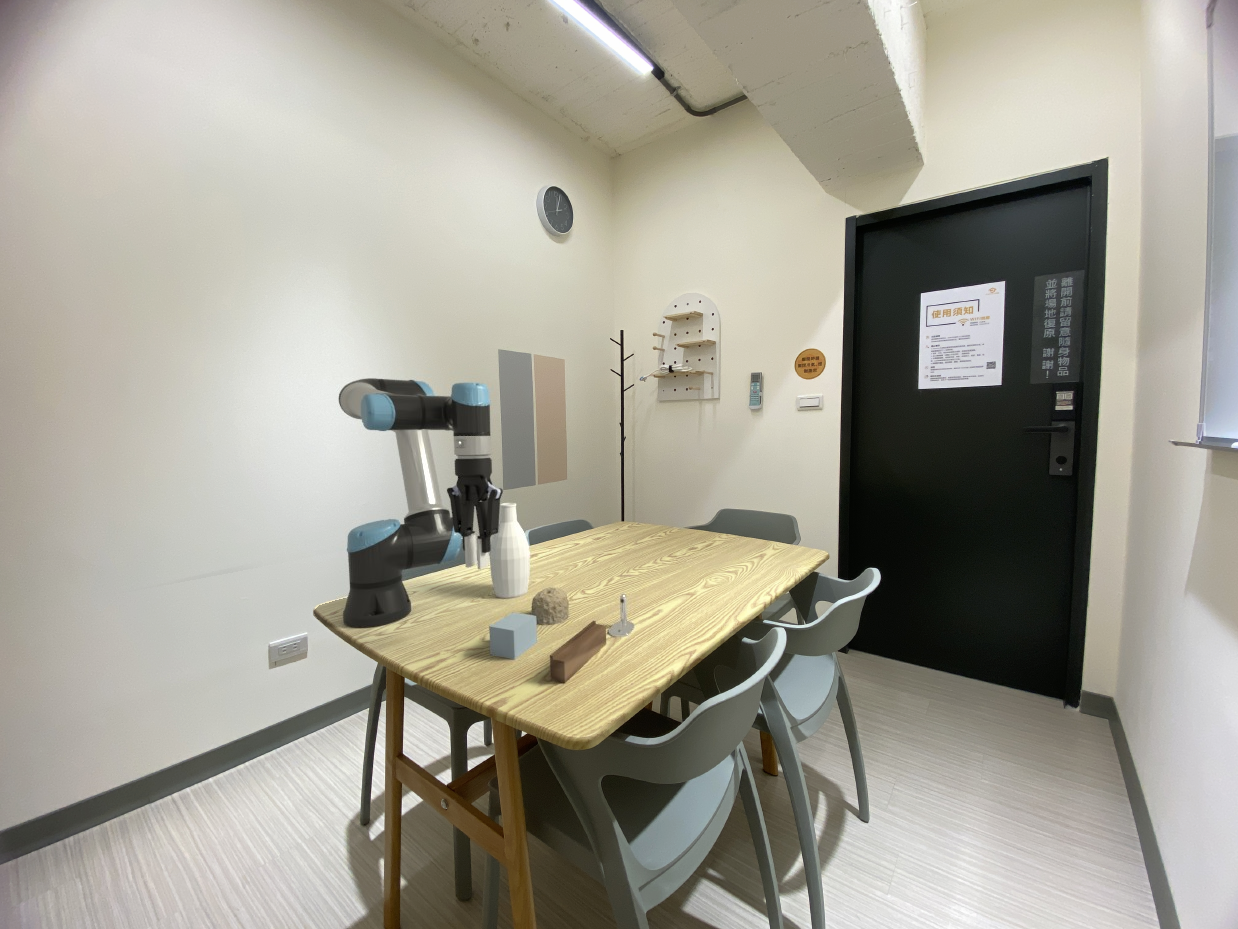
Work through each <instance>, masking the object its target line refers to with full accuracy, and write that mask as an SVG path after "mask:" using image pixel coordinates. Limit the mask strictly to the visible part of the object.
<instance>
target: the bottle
mask: <svg viewBox="0 0 1238 929" xmlns="http://www.w3.org/2000/svg"><path fill="white" fill-rule="evenodd" d="M490 543H491V544H490V545H491V546H490V547H491V550H490V552H489V566H490V567H489V568H490V578H491V582H492V586H493V593H494V596H496V597H497V598H500V599H514V598H515V599H516V598H520V597H522V596H524V595H526V593H527V592H528V590H529V584H530V583H529V580H530V574H531V573H530V572H531V570H530V569H531V565H530V564H531V561H530V560H531V553H530V547H529V541H528V539H527V537H526V534H525V532H524V530H523V528H522V526H521V525H520V523H519V522H518V517H517V503H516V502H504V503H500V512H499V529H498V533H497V534H494V535H492V538H491V541H490Z"/></svg>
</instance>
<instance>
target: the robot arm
mask: <svg viewBox="0 0 1238 929" xmlns="http://www.w3.org/2000/svg"><path fill="white" fill-rule="evenodd" d="M339 391H340V392H339V394H338V399H337V400H338V404H339V407H340V408H341V410H342V411H343V413H345V414H346V415H348V416H349V417H351V418H353V419H355V420H361V422H362V424H363V427H364V429H366V430H368V431H378V432H388V431H392V432H394V434H395V438H396V445H397V451H398V456H399V462H400V467H401V473H402V474H401V475H402V479H403V485H404V486H403V487H404V491H405V492H404V493H405V497H406V503H407V509H408V513H406V515H405V516H404V517H403V522H404V523H402V524H401V522H400V521H399V519H395V518H388V519H380V520H376V521H372V522H366V523H364V524H360V525H357V526H356V527H354V528H353V529H351V530H350V531H349V533H348V534H347V541H346V542H347V547H346V552H347V558H348V559H347V560H348V561H347V562H348V576H349V580H348V581H349V592H348V595H347V599H346V603H345V607H344V610H343V613H342V618H343V620H342V621H343V624H344V625H345V626H347V627H351V628H371V627H378V626H384V625H387V624H391V623H395V622H397V621H399V620H401V619H404V618H405V617H407V616H409V615H410V613H411V611H412V602H411V599H410V597H409V594H408V591H407V590H406V587H405V584H404V582H403V571H405V570H410V569H415V568H421V567H427V566H433V565H437V564H438V565H441V564H443V563H447V562H451V561H453V560H455V559H456V558H457V556H458V555H459V553H460V550H461V545H462V550H463V552H464V557H465V558H464V560H465V568H471V567H473V566H477V570H482V569H485V568H487V567H489V566H490V550H491V537H492V536H493V535H494V534H497V533H498V529H499V523H500V512H501V507H500V504H501V498H502V497H503V496H502V495H503V492H504V490H503V488H501V487H498V488H497V487H496V486H494V485H493V482H492V479H491V475H492V473H493V459H492V458H491V457H490V456H492V454H493V453H492V436H491V407H490V406H491V400H490V391H489V386H488V385H487V384H484V383H480V382H456V383H454V384H452V386H451V394H450V396H449V395H448V396H447V395H435V393H434V390H433V388H432V387H431V386H430V385H429V384H428V383H426V382H425V381H419V380H415V379H408V380H405V379H403V380H402V379H392V378H391V379H389V378H376V377H375V378H374V377H373V378H361V379H357V380H354V381H351V382H349V383H347V384H345V385H344V386H343V387H342V388H341V390H339ZM429 431H448V432H449V431H452V432H453V433H452V434H453V436H452V437H453V452H454V457H457V458H455V459H454V475H455V476H457V480H456V484H455V485H454V486H452V487H448V488H446V493H447V496H448V497H449V500H450V501H449V502H450V509H451V513H450V509H448V508H447V507H445V506H444V505H443V502H442V498H441V497H442V496H441V492H440V491H441V490H440V486H439V481H438V475H437V471H436V465H435V458H434V455H433V449H432V443H431V439H430V434H429ZM475 513H476V519H477V521H476V522H477V528H478V534H479V535H477V534H475V533H476V531H474V519H475V517H474V516H475Z"/></svg>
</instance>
